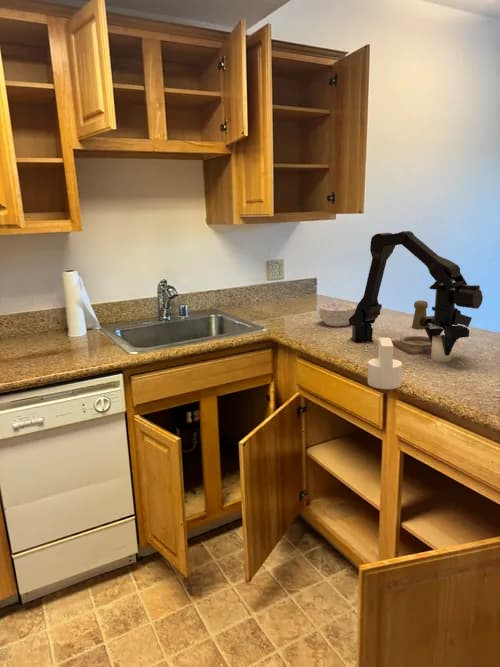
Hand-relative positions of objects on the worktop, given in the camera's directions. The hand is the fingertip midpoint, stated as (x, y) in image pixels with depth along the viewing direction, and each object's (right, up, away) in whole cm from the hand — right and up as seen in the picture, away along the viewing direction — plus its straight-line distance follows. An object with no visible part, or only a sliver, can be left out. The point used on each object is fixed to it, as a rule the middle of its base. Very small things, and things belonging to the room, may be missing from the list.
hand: (441, 352), depth 151 cm
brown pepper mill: (+8, +8, +41) cm, 43 cm away
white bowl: (-24, +10, +52) cm, 58 cm away
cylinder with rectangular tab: (-24, -8, -19) cm, 31 cm away
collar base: (-2, +1, +14) cm, 14 cm away
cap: (0, -2, +1) cm, 2 cm away
